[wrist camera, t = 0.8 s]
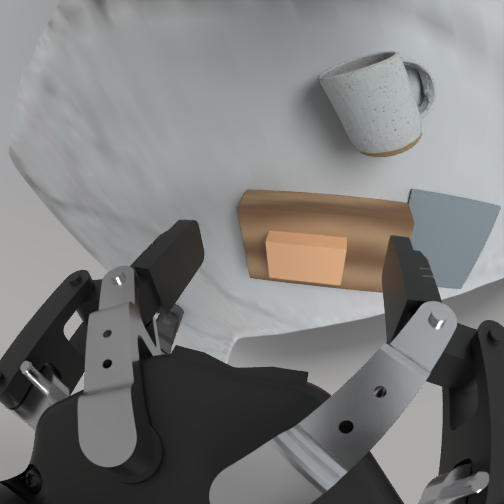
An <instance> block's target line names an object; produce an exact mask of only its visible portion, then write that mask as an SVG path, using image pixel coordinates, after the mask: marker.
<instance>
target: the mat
mask: <svg viewBox="0 0 504 504" xmlns="http://www.w3.org/2000/svg"><path fill="white" fill-rule="evenodd" d="M408 204H409V207H410V210H411V213H412V216H413V219H414V223H415V225H414V228H413V231H412V235H411V238H410V241H411V244H412V246H413V249H414V250H417V251H421V253H422V254H423V255H424V256H425V257H426V258H427V259H428V262H429V265H430V267H431V270H432V273H433V278H434V279H435V282H436V285H437V287H444V288H456V289H461V288H462V286H463V284H464V283H465V281H466V279H467V277H468V276H469V274H470V272H471V270H472V269H473V267H474V265H475V263H476V261H477V259H478V257H479V255H480V253H481V251H482V249H483V247H484V245H485V243H486V241H487V239H488V237H489V235H490V232H491V230H492V228H493V226H494V223H495V221H496V218H497V216H498V214H499V211H500V209H501V207H500V206H497V205H493V204H489V203H484V202H480V201H475V200H471V199H466V198H461V197H456V196H451V195H445V194H440V193H434V192H428V191H422V190H415V189H411V194H410V198H409V202H408Z"/></svg>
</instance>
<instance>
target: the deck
mask: <svg viewBox="0 0 504 504" xmlns="http://www.w3.org/2000/svg"><path fill="white" fill-rule="evenodd" d="M237 211H238V216H239V222H240V227H241V232H242V238H243V243H244V248H245V254H246V259H247V265H248V270H249V275H250V278H255V279H263V280H271V281H279V282H287V283H296V284H304V285H313V286H322V287H331V288H341V289H351V290H361V291H371V292H382V293H383V289H382V270H383V265H384V261H385V257H386V252H387V247H388V242H389V238H390V236H391V235H396V236H405V237H409V238H411V235H412V231H413V228H414V225H415V223H414V219H413V216H412V213H411V210H410V207H409V204H408V203H403V202H395V201H388V200H379V199H370V198H361V197H351V196H341V195H329V194H317V193H303V192H287V191H267V190H246V192H245V194H244V196H243V198H242V199H241V201H240V203H239V205H238V207H237ZM269 231H280V232H291V233H303V234H314V235H324V236H335V237H345V238H347V251H346V257H345V263H344V269H343V274H342V280H341V285H331V284H321V283H312V282H303V281H295V280H286V279H278V278H269V269H268V260H267V252H266V243H265V242H266V239H267V236H268V233H269Z"/></svg>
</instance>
